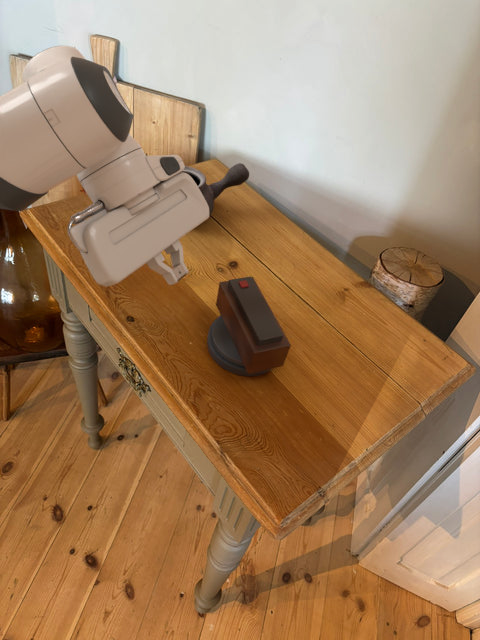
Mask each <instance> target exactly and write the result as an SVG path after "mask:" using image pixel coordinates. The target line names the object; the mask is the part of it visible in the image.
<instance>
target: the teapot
mask: <svg viewBox="0 0 480 640" xmlns="http://www.w3.org/2000/svg"><path fill="white" fill-rule="evenodd" d="M181 172H184V173H187V174H188V175H190V176H191V177H192V179H193V180H194V181H195V183H196V184H197V186H198V188H199V189H200V191H201V193H202V195H203V196H204V198H205V200H206V202H207V204H208V206H209V217H210V216H211V215H212V213H213V212H214V208H215V207H214V206H215V205H214V204H215V200H216V199H217V198H219V196H220V195H221V194H222V193H224V191H225V190H226V189H229V188H231V187H237V186H241V185H243V184H244V183H245V182H246V181H248V179H249V178H250V171H249V169H248V168H247V167H246V166H245V164H244V163H241V162H239V163H235V164H234V165H233V166H231V167H230V168H229V169H228V170H227V172H226V174H225V175H224V177H222V179H221V180H219V181H215V182H213V183H210V184H207V177H206V175H205V174H204V173H203V172H202V171H201V170H199V169H197V168H195V167H192V166H187V165H185V168H184V170H183V171H181ZM181 172H180V173H181Z"/></svg>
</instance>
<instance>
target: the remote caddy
mask: <svg viewBox="0 0 480 640" xmlns="http://www.w3.org/2000/svg"><path fill="white" fill-rule="evenodd" d="M215 306H216V308H217V310H218V312H219V314H220V315H219V316H217V317H216V318H215V320H216V321H215V320H214V321H215V322H214V321H213V322H214V325H213V328H212V342H213V345H214V347H215V349H216V350H217V352H218V353H219V354H220V355H221V356H222V357H224V358H225V359H226V360H228V361H230V362H232V363H234V364H236V365H240V366H245V368H246V371H247V373H248V374H252V373H256V372H260V371H264V370H269V369H272V370H274V369H276V368H281V367H283V366H284V365H285V362H286V359H287V356H288V353H289V351H290V348H291V345H292V344H291V342H290V341H289V339H288V337H287V336H286V334H285V332H284V330H283V329H282V326H281V324H280V322H279V321H278V320H277V317H276V316H275V314H274V312H273V310H272V308H271V307H270V305H269V303H268V301H267V299H266V297H265V295H264V293H263V292H262V290H261V289H260V287H259V285H258V283H257V281H256V279H255V278H254V276H245V277H239V278H231V279H228V280H225V281H224V280H223V281H220V282H219V284H218V290H217V296H216V301H215Z"/></svg>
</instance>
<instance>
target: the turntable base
mask: <svg viewBox="0 0 480 640" xmlns="http://www.w3.org/2000/svg"><path fill="white" fill-rule="evenodd" d="M215 321H216V319H214V320H213V322H212V323H211V325H210V326H209V329H208V333H207V339H206V344H207V345H206V346H207V349H208V352H209V354H210V357H211V358H212V359H213V361H214V362H215V363H216V364H217V365H218V366H219V367H220V368H222V369H223V370H225V371H227V372H229V373H232V374H235V375H239V376H242V377H243V376H244V377H256V376H261V375H264V374H267V373H269V372H271V371H273V369H269V370H264V371H260V372H256V373H252V374H248V373H247V371H246V368H245V366H240V365H236V364H234V363H232V362H230V361H228V360H226V359H225V358H224V357H222V356H221V355H220V354H219V353H218V352H217V350H216V349H215V347H214V345H213V342H212V328H213V325H214V322H215Z"/></svg>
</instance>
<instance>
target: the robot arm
mask: <svg viewBox="0 0 480 640" xmlns="http://www.w3.org/2000/svg"><path fill="white" fill-rule="evenodd" d="M21 78H22V81H23V82H22V83H21V84H19V85H17V86H15V87H14V88H12V89H11V90H8V91H7V92H6V93H4V94H2V95H0V209H1V210H6V211H13V212H22V211H25V210H26V209H28V208H29V207H30V206H32V205H33V204H35V203H36V202H38V201H39V200H40V199H42V198H43V197H44V196H46V195H47V194H48V193H49V191H51V190H52V189H53V190H54V189H55V188H57V187H58V186H59V185H62V184H63V183H65V182H67V181H69V180H70V179H72V178H74V177H77V180H78V182H79V184H80V185H81V186H82V188H83V189H84V191H85V193H86V194H87V196H88V198H89V199H90V200H91V203H92V204H90V205H88V206H87V207H85V208H84V209H83V210H81V211H78V212H76V213H75V212H74V214H73V215H71V216H70V220H69V222H68V225H67V231H66V232H67V236H68V237H69V240H70V241H71V243H73V245H74V246H75V248H76V249H77V250H78V251H79V253H80V256H81V257H82V260H83V261H84V263H85V266H86V268H87V269H88V271H89V273H90V275H91V276H92V278H93V280H94V282H95V283H97V284H98V285H100V286H103V287H106V288H107V287H111V286H114V285H116V284H119V283H120V282H122V281H124V280H125V279H126V278H127V277H129V276H130V275H132V274H133V273H134V272H136V271H137V270H139V269H140V268H141V267H143V266H144V265H147V266H148V268H149V269H150V270H152V271H153V272H155V273H157V274H158V275H161V276H162V277H163V278H164V280H165V281H166V283H167V284H168V285H169V286H173V285H176V284H177V283H178V282H179V281H180V280H182V279H183V278H185V277H186V276H187V275H188V274H189V272H190V271H189V269H188V267H187V265H186V264H185V262H184V261H185V257H184V247H183V245H182V243H181V241H180V239H182V238H183V237H185V236H186V235H187V234H189V233H190V232H191V231H193V230H194V229H196V228H197V227H198V226H200V225H201V224H203V223H204V222H205V221H207V220H208V219H209V218H210V216H209V206H208V204H207V202H206V200H205V198H204V196H203V195H202V193H201V191H200V189H199V188H198V186H197V184H196V183H195V181H194V180H193V179H192V177H191V176H190V175H188V174H187V173H184V172H181V171H183V170H184V168H185V166H186V165H185V163H184V160H183V158H182V157H181V156H180V155H178V154H166V155H165V154H163V155H146V153H145V151H144V149H143V148H142V146H141V145H140V144H139V142H138V141H137V140H136V139H135V138H134V137H133V136H132V135H131V134H130V132H131V128H132V124H133V120H134V117H135V115H134V114H133V113H132V111H131V110H130V108H129V107H128V105H127V103H126V101H125V100H124V98H123V96H122V95H121V92H120V90H119V89H118V87H117V84H116V83H115V81H114V80H115V79H114V78H113V76H112V74H111V72H110V70H109V69H108V68H107V67H106V66H105V65H102V64H99V63H97V62H94V61H92V60H88V59H86V57H85V56H84V55H83V54H82V53H81V52H80V50H79V49H77V48H75V47H73V46H70V45H56V46H52V47H48V48H46V49H43V50H41V51H39V52H38V53H36V54H35V55H34V56H32V57H31V58H29V60H28V61H27V63H25V66H24V67H23V70H22V73H21ZM180 172H181V173H180ZM73 225H74V226H73ZM162 252H164V253H165V254H166V255H170V260H171V267H170V266H169V265H167V264H166V263H165V262H164V261H165V260H166V259H165V257H164V255H163V253H162Z"/></svg>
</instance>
